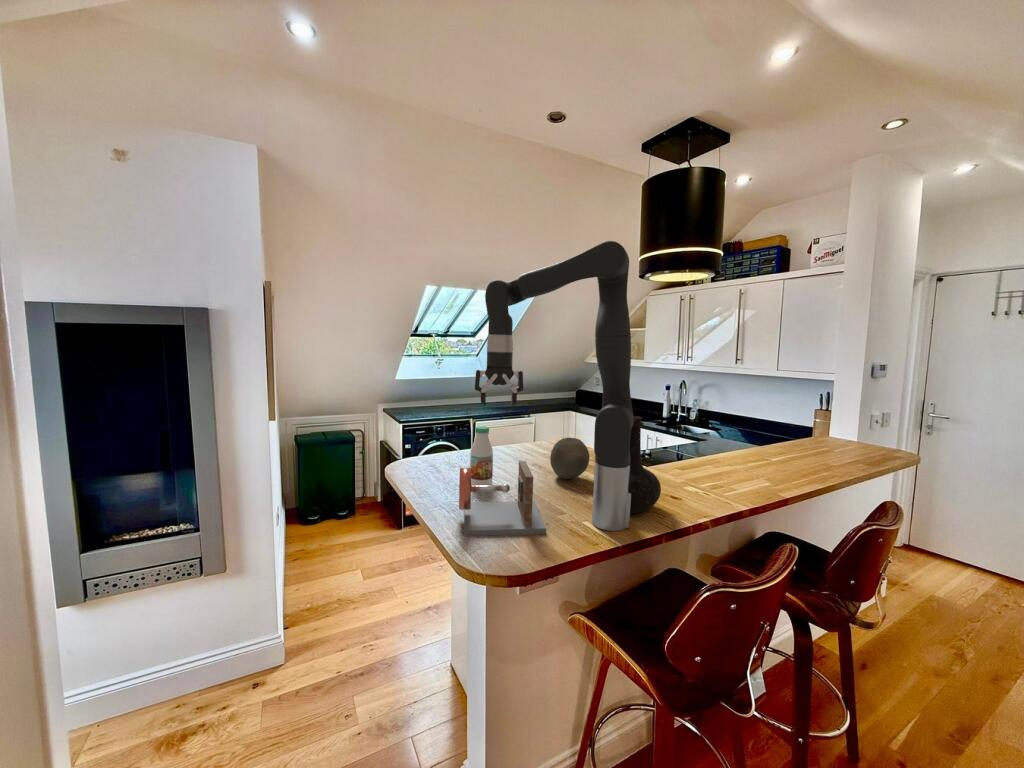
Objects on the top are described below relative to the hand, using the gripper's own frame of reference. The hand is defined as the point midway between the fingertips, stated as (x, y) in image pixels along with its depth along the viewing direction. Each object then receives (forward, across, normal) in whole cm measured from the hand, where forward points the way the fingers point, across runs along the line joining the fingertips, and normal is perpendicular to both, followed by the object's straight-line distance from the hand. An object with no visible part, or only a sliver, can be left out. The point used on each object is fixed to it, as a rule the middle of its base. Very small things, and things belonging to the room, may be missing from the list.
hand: (498, 405), depth 123 cm
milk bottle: (+30, +4, -16) cm, 34 cm away
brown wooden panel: (+29, -7, +12) cm, 32 cm away
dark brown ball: (+30, -28, -21) cm, 46 cm away
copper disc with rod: (+27, +4, +12) cm, 29 cm away
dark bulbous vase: (+30, -40, +5) cm, 50 cm away
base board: (+30, -1, +12) cm, 32 cm away
